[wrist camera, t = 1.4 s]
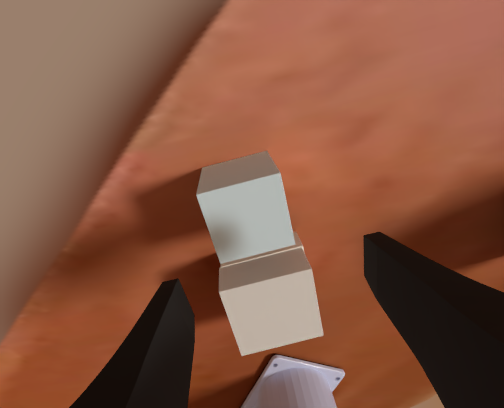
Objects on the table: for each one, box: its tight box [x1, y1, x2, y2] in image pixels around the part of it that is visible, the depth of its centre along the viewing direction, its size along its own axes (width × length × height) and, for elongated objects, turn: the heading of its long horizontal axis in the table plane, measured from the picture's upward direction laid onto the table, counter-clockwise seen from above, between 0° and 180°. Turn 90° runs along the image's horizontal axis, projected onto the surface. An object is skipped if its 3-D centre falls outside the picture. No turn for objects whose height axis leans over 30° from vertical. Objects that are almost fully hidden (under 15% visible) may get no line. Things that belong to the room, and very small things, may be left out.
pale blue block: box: [196, 151, 295, 264], centre depth 18 cm, size 4×4×5 cm
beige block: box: [219, 247, 323, 356], centre depth 20 cm, size 6×6×2 cm
